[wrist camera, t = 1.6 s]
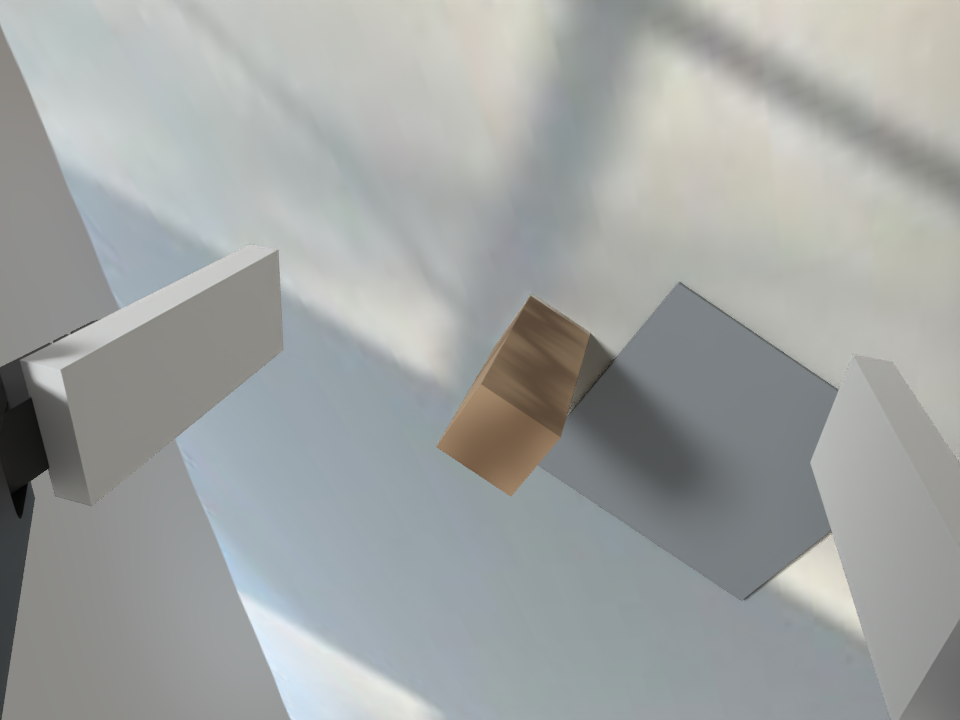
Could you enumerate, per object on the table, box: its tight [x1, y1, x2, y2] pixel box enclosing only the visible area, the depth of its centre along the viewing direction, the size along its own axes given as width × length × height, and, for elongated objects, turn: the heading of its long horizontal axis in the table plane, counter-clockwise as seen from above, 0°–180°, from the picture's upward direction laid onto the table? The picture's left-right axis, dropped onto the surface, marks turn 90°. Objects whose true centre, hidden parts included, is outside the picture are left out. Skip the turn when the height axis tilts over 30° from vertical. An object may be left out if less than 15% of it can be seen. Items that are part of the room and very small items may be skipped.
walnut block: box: [437, 294, 591, 496], centre depth 42 cm, size 5×5×14 cm
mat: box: [538, 282, 839, 600], centre depth 48 cm, size 20×18×1 cm
